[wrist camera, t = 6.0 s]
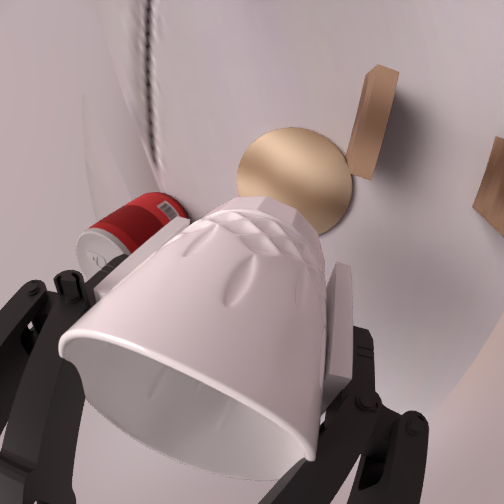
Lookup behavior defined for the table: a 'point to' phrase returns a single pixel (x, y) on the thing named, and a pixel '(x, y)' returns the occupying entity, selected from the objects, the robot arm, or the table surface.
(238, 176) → the cork coaster
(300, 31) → the table surface
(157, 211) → the canned food
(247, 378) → the white cup
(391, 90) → the walnut cradle
